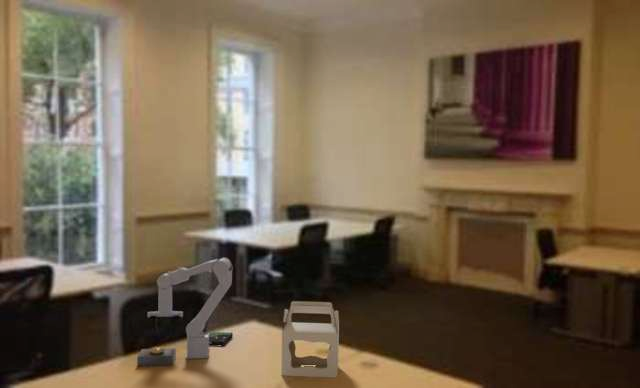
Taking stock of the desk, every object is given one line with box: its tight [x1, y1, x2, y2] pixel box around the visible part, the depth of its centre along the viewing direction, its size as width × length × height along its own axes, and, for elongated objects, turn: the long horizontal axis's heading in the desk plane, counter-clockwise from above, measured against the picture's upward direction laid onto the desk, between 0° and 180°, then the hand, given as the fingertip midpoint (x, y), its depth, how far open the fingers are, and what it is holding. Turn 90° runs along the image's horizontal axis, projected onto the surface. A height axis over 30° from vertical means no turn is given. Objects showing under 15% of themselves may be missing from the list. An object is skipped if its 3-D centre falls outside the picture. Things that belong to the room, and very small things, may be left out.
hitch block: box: [136, 348, 177, 367], centre depth 244 cm, size 14×10×4 cm
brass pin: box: [149, 346, 165, 355], centre depth 244 cm, size 6×6×5 cm
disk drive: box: [208, 331, 234, 347], centre depth 276 cm, size 10×3×15 cm
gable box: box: [281, 300, 340, 379], centre depth 236 cm, size 22×13×28 cm, turn 86°
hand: (165, 333), depth 253 cm, fingers open, 7 cm apart
